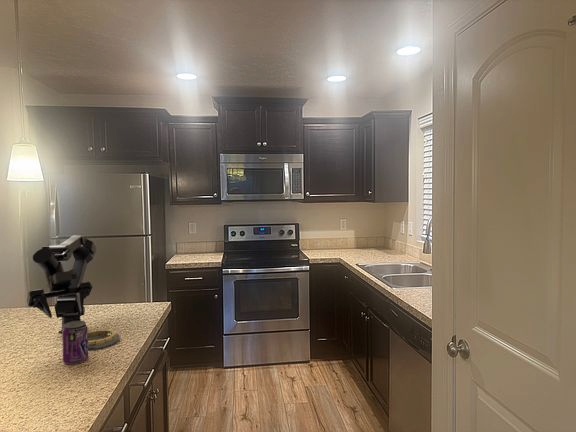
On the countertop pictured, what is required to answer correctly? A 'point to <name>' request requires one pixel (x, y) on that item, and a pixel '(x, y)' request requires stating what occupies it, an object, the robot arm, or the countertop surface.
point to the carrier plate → (97, 337)
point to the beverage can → (75, 342)
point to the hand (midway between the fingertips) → (66, 314)
